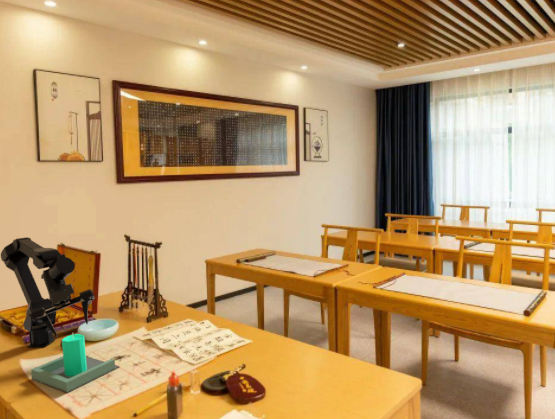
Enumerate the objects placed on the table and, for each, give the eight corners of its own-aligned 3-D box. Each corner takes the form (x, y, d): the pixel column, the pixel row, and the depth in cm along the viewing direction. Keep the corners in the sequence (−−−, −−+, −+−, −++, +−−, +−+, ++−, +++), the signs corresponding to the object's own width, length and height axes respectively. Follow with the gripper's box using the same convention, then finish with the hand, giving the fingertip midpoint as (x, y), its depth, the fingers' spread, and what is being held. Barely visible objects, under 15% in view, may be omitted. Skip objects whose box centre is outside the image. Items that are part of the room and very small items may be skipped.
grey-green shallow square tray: (84, 356, 140) (83, 347, 139) (119, 367, 131) (118, 357, 131) (31, 379, 125) (31, 369, 125) (67, 393, 116) (66, 382, 116)
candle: (72, 378, 124) (69, 337, 123) (60, 373, 127) (57, 334, 126) (91, 369, 129) (88, 330, 128) (79, 365, 132) (75, 327, 131)
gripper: (20, 291, 129) (36, 340, 126) (84, 268, 138) (101, 313, 134) (26, 298, 139) (41, 344, 136) (86, 277, 147) (102, 319, 144)
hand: (72, 330), depth 137 cm, fingers open, 9 cm apart
